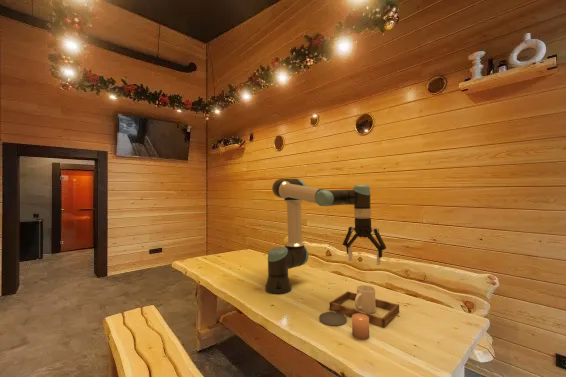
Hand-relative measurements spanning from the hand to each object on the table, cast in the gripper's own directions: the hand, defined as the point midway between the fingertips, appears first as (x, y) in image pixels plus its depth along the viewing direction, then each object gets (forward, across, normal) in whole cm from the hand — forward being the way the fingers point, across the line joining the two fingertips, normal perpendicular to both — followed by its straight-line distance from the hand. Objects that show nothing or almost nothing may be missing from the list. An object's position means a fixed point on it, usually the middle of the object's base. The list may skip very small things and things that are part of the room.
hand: (364, 262), depth 124 cm
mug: (+23, 0, -1) cm, 23 cm away
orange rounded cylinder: (+22, +6, -22) cm, 32 cm away
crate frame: (+22, 0, -1) cm, 22 cm away
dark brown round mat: (+22, -8, -17) cm, 29 cm away
